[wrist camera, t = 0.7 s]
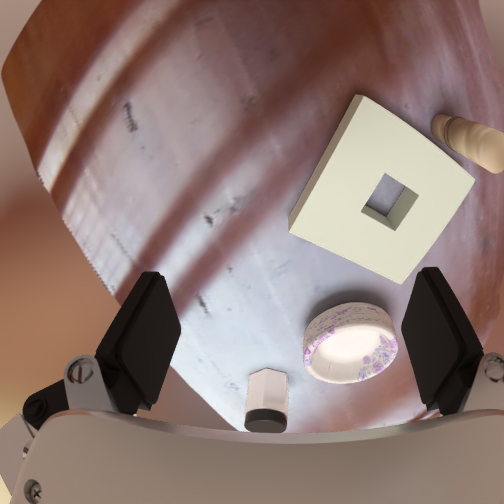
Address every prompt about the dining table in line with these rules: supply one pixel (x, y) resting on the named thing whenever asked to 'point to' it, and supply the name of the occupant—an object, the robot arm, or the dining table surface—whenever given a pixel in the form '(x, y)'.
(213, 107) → the dining table surface
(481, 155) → the peg
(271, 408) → the jar
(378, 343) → the paper bowls
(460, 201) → the board
